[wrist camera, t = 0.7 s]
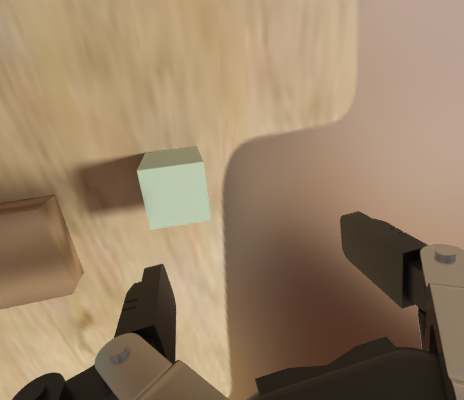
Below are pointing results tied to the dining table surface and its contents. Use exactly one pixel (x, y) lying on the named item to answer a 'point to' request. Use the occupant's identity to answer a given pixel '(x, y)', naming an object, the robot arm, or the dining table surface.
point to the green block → (174, 187)
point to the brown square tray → (35, 252)
